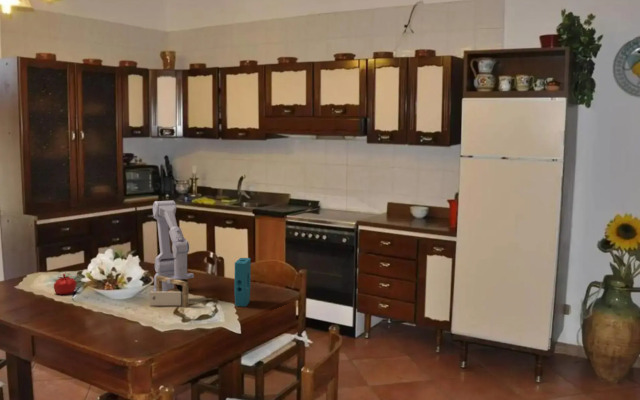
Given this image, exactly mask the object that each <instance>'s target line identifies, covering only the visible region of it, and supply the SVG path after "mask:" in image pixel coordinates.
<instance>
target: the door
mask: <svg viewBox="0 0 640 400" xmlns="http://www.w3.org/2000/svg"><path fill="white" fill-rule="evenodd" d="M181 299H182V303H181ZM149 306H150V307H151V306H183V292H156V291H149Z"/></svg>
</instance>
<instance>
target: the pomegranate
mask: <svg viewBox="0 0 640 400" xmlns="http://www.w3.org/2000/svg"><path fill="white" fill-rule="evenodd" d="M77 285H78V283H77V281H76V280H75V279H74V278H73V277H72V276H70V275H69V276H67V277H66V274H65V273H63V274H62V277H61V276H59V277H57V280H56V281H55V282H54V284H53V290H54V292H55V294H56V295H71V294H73V293H75V291H76V290H77ZM74 290H75V291H74Z"/></svg>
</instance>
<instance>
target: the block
mask: <svg viewBox="0 0 640 400" xmlns="http://www.w3.org/2000/svg"><path fill="white" fill-rule="evenodd" d="M251 262H252V261H251V258H250V257H240V258H238V259H237V260H236V261H235V262H234V301H235V302H234V304H235V307H247V306H248V305H249V304H250V301H251V300H250V299H251V280H252V279H251V278H252V277H251V274H252V273H251V272H252V271H251V266H252V265H251V264H252V263H251Z"/></svg>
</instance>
